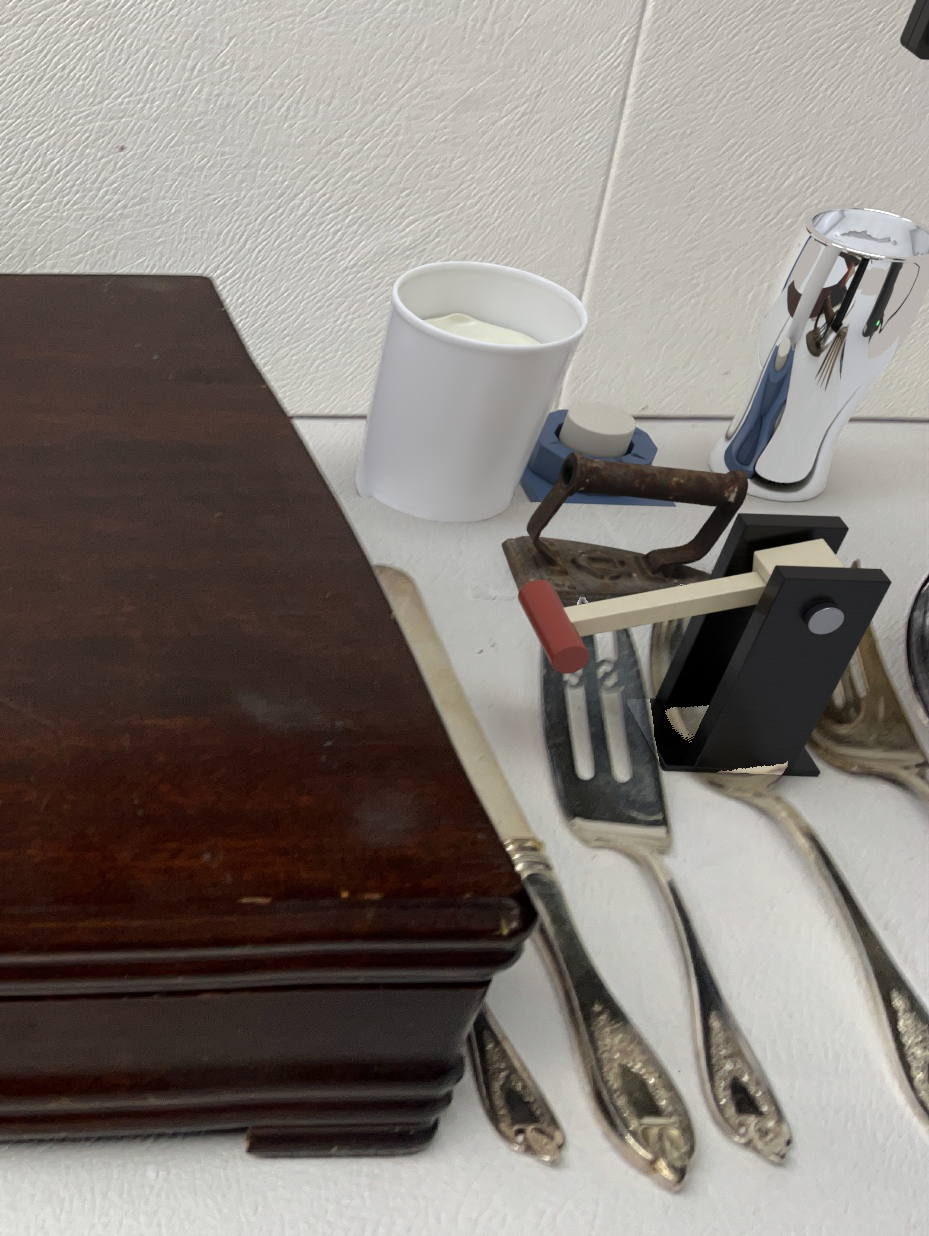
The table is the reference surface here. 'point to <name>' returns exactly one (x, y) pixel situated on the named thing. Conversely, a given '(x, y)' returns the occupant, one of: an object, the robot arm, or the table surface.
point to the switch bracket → (766, 653)
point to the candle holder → (464, 387)
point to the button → (597, 430)
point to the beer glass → (823, 345)
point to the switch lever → (654, 603)
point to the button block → (553, 454)
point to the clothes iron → (611, 568)
